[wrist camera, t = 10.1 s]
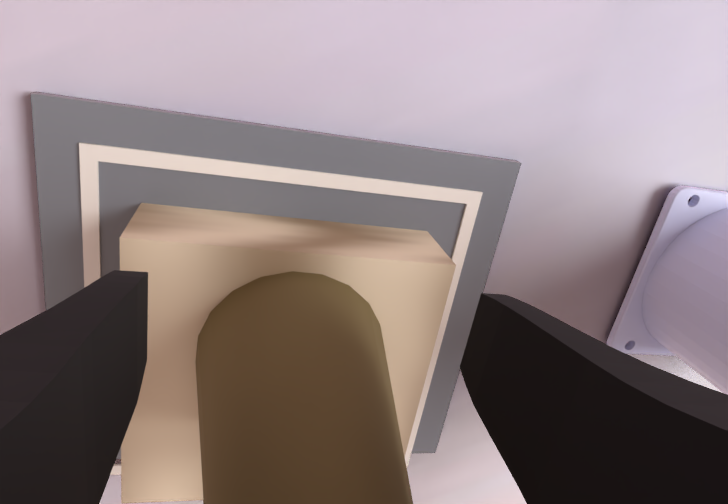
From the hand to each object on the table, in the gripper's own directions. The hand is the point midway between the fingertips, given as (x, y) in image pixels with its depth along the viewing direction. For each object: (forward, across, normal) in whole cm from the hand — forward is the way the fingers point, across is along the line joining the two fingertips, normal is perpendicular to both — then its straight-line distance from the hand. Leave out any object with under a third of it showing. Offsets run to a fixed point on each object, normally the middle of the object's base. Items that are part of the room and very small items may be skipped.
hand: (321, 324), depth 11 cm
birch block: (+8, 0, +5) cm, 9 cm away
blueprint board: (+8, 0, +4) cm, 9 cm away
